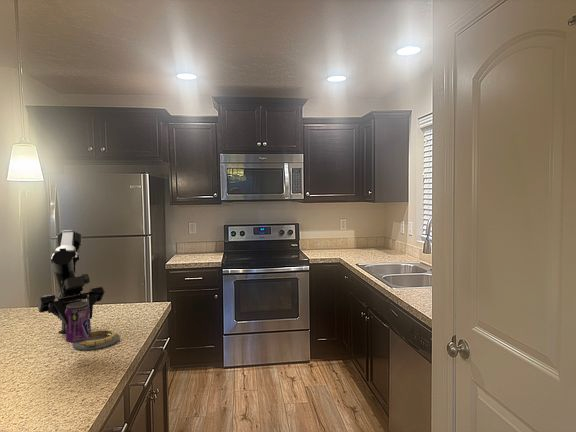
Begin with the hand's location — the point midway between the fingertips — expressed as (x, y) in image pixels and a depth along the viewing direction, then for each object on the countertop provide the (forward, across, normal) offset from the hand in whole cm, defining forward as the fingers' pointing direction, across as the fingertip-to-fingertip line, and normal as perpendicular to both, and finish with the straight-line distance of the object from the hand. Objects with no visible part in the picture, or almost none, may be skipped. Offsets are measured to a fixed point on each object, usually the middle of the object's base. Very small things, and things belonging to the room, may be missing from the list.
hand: (79, 320), depth 124 cm
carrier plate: (+1, +9, +17) cm, 19 cm away
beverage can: (+4, 0, +6) cm, 7 cm away
